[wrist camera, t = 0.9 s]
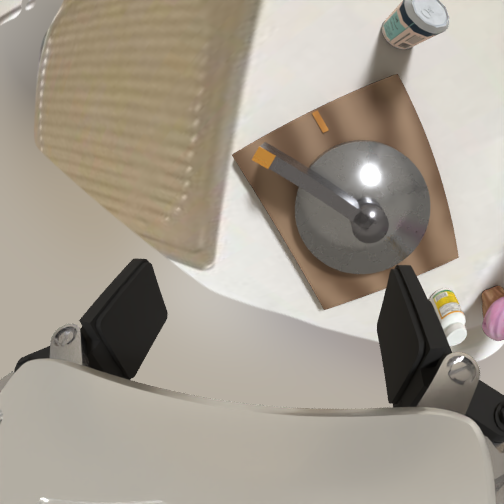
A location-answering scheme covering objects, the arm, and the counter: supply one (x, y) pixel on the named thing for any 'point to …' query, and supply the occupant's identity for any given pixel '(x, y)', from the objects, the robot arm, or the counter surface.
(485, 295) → the cupcake
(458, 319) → the supplement bottle
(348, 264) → the dial
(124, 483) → the robot arm
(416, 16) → the pill bottle
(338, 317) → the counter surface
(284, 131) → the dial base
